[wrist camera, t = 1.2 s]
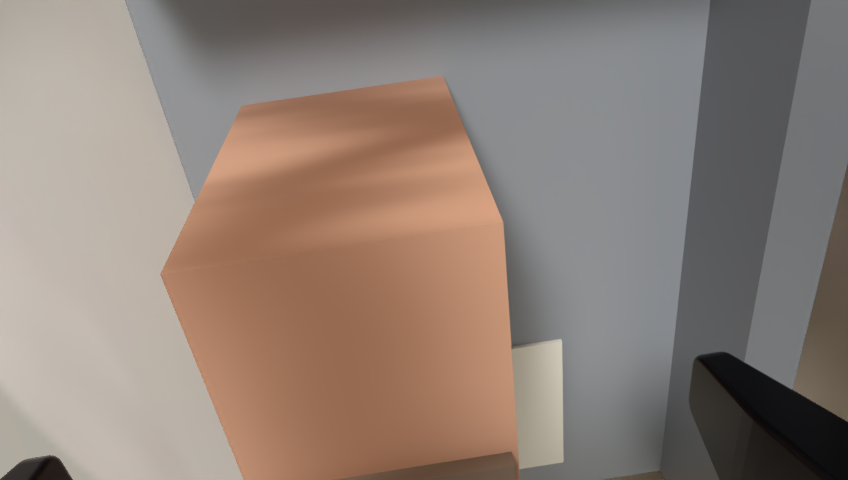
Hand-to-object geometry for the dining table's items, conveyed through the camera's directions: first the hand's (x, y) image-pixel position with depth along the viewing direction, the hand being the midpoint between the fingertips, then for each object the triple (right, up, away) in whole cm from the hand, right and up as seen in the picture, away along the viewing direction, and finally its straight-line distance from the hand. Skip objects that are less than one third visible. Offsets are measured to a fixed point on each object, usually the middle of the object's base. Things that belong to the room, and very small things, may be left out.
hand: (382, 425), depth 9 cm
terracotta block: (-1, +3, +5) cm, 6 cm away
